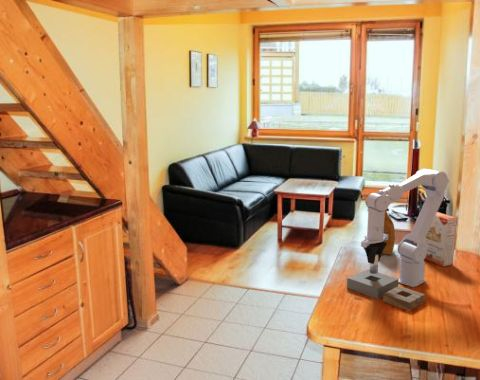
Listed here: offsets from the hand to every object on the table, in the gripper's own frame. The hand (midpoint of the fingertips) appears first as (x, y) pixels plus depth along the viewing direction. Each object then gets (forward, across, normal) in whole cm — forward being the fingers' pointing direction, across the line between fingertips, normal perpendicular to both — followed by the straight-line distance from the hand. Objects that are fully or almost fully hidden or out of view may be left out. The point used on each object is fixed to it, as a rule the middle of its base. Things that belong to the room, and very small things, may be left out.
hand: (373, 262), depth 180 cm
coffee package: (+11, -40, -21) cm, 46 cm away
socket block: (+10, +2, +14) cm, 18 cm away
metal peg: (+4, 0, 0) cm, 4 cm away
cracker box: (+11, -46, +1) cm, 47 cm away
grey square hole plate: (+10, 0, 0) cm, 10 cm away
